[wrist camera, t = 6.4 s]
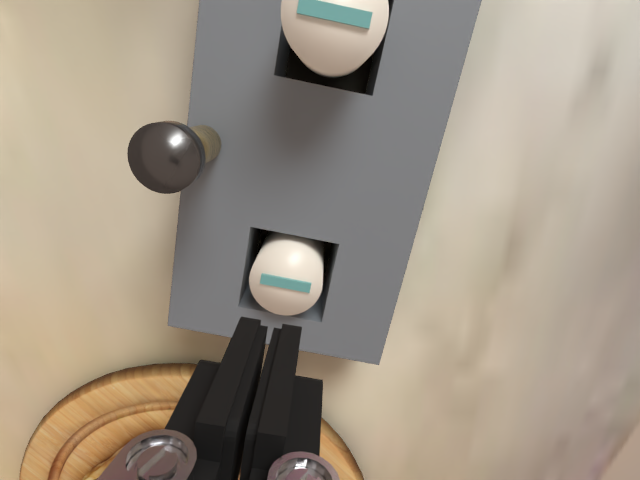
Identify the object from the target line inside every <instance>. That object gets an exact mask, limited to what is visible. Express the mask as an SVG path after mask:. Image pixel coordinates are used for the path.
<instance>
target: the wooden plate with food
mask: <svg viewBox="0 0 640 480" xmlns="http://www.w3.org/2000/svg"><path fill="white" fill-rule="evenodd" d="M196 366H197V364H190V363H169V364H152V365H146V366H138V367H132V368H127V369H123V370H120V371H116V372H113V373H109V374H106V375H104V376H102V377H100V378H97V379H95V380H93V381H91V382H89V383H87V384H85V385H83V386H81V387H80V388H78V389H76V390H75V391H73V392H71V393H70V394H69V395H67V396H66V397H65V398H63V399H62V400H61V401H59V402H58V403H57V404H56V405H55V406H54V407H53V408H52V409H51V410H50V411H49V412H48V413H47V414H46V415H45V416H44V417H43V419H42V420H41V422H40V423H39V425H38V427H37V428H36V430H35V431H34V433H33V435H32V436H31V439H30V441H29V443H28V445H27V448H26V450H25V454H24V457H23V460H22V464H21V470H20V480H95V479H97V478H98V477H99V476H100V475H101V474H102V473H103V471H104V470H105V469H106V468H107V466H108V465H109V464H110V463H111V462H112V460H113V459H114V458H115V457H116V455H117V454H118V453H119V452H120V451H121V449H122V448H123V447H124V446H125V445H126V444H127V443H128V442H129V441H131V440H132V439H133V438H135V437H137V436H139V435H140V434H142V433H145V432H149V431H152V430H161V429H165V427H166V425H167V423H168V421H169V419H170V417H171V415H172V413H173V411H174V409H175V407H176V405H177V403H178V401H179V399H180V397H181V396H182V394H183V392H184V390H185V388H186V386H187V384H188V382H189V380H190V378H191V376H192V374H193V372H194V370H195V368H196ZM320 457H322V458H324V459H325V460H326V461H327V462H329V463H330V464H331V465H332V466H333V468H334V469H335V470H336V472H337V473H338V476H339V479H340V480H364V479H363V476H362V473H361V471H360V469H359V467H358V465H357V463H356V461H355V459H354V457H353V455H352V453H351V452H350V450H349V448H348V447H347V446H346V444H345V443H344V441H343V440H342V438H341V437H340V436H339V435H338V434H337V433H336V432H335V431H334V429H333V428H332V427H331V426H330V425H329V424H328V423H327V422H326V421H325V420H324V419H323V418H322V417H321V435H320ZM240 471H241V470H240ZM239 477H240V474H239ZM238 480H239V478H238Z"/></svg>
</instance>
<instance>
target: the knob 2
mask: <svg viewBox="0 0 640 480" xmlns="http://www.w3.org/2000/svg"><path fill="white" fill-rule="evenodd" d="M388 17H389V4H388V0H282V1H281V22H282V27H283V31H284V34H285V37H286V39H287V41H288V43H289V45H290V47H291V48H292V49H293V51H294V52H295V53H296V55H297V56H298V57H299V58H300V60H301V61H302V62H303V63H304V64H305V65H306V66H307V68H309V69H310V70H311V71H313V72H314V73H316V74H318V75H320V76H324V77H329V78H338V77H343V76H346V75H348V74H351V73H352V72H354V71H355V70H357V69H358V68H359V67H360V66H361V65H362V64H363V63H364V62H365V61H366V60H367V59H368V58H369V57H370V56H371V55H372V54H373V53H374V51H375V50H376V49H377V47H378V46H379V44H380V42H381V41H382V39H383V36H384V34H385V31H386V28H387V23H388Z"/></svg>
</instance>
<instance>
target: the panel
mask: <svg viewBox="0 0 640 480" xmlns="http://www.w3.org/2000/svg"><path fill="white" fill-rule="evenodd" d="M281 1H282V0H200V1H199V11H198V22H197V32H196V42H195V52H194V62H193V72H192V83H191V93H190V103H189V113H188V123H187V126H188V127H193V126H198V125H206V126H209V127H211V128H213V129H214V130H215V131H216V132H217V133H218V135H219V137H220V139H221V150H220V152H219V154H218V156H217V157H216V158H214V159H213V160H211V161H209V162H207V163H205V167H204V170H203V172H202V174H201V175H200V177H199V178H198V179H197V180H196V181H195V182H194V183H192V184H191V185H189V186H188V187H186V188H184V189H183V190H181V195H180V205H179V215H178V225H177V235H176V246H175V256H174V266H173V276H172V286H171V297H170V307H169V317H168V326H172V327H177V328H182V329H188V330H193V331H198V332H204V333H209V334H215V335H220V336H225V337H231V338H232V336H233V334H234V331H235V329H236V327H237V324H238V322H239V320H240V317H247V318H253V319H259V320H261V325H262V326H268V329H267V336H266V343H265V344H268V345H269V344H270V340H271V336H272V332H273V329H274V328H280V329H281V328H282V324H288V325H294V326H300V327H302V331H301V338H300V345H299V350H301V351H306V352H312V353H317V354H322V355H328V356H333V357H339V358H344V359H349V360H355V361H360V362H365V363H371V364H376V365H379V363H380V359H381V356H382V352H383V348H384V345H385V341H386V338H387V334H388V331H389V327H390V324H391V320H392V316H393V313H394V309H395V306H396V302H397V299H398V295H399V292H400V288H401V285H402V281H403V277H404V274H405V270H406V267H407V263H408V260H409V256H410V253H411V249H412V246H413V242H414V238H415V235H416V231H417V228H418V224H419V221H420V217H421V214H422V210H423V207H424V203H425V199H426V196H427V192H428V189H429V185H430V182H431V178H432V175H433V171H434V167H435V164H436V160H437V157H438V153H439V150H440V146H441V143H442V139H443V136H444V132H445V128H446V125H447V121H448V118H449V114H450V111H451V107H452V104H453V100H454V97H455V93H456V89H457V86H458V82H459V79H460V75H461V72H462V68H463V65H464V61H465V58H466V54H467V50H468V47H469V43H470V40H471V36H472V33H473V29H474V26H475V22H476V18H477V15H478V11H479V8H480V4H481V1H482V0H388V4H389V17H388V23H387V28H386V31H385V34H384V36H383V39H382V41H381V42H380V44H379V46H378V47H377V49H376V50H375V51H374V55H373V60H372V64H371V69H370V73H369V78H368V82H367V87H366V91H365V94H361V93H356V92H351V91H347V90H342V89H337V88H332V87H328V86H323V85H318V84H313V83H309V82H304V81H299V80H294V79H290V78H285V77H286V71H287V65H288V59H289V53H290V45H289V43H288V41H287V39H286V37H285V34H284V31H283V27H282V22H281ZM261 229H265V230H270V231H275V232H280V233H285V234H290V235H295V236H300V237H305V238H311V239H316V240H321V241H326V242H331V243H332V247H331V251H330V256H329V260H328V265H327V269H326V274H325V278H324V283H323V286H322V291H321V294H320V296H319V298H318V300H317V301H316V303H315V304H314V305H313V306H312V307H311V308H309V309H308V310H306V311H304V312H302V313H300V314H296V315H278V314H275V313H272V312H270V311H268V310H266V309H265V308H263V307H262V306H261V305H260V304H259V303H258V302H257V301H256V300H255V298H254V297H253V295H252V293H251V290H250V285H249V275H250V271H251V269H252V266H253V264H254V262H255V260H256V256H257V250H258V244H259V237H260V231H261Z"/></svg>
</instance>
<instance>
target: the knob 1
mask: <svg viewBox="0 0 640 480" xmlns="http://www.w3.org/2000/svg"><path fill="white" fill-rule="evenodd" d="M323 266H324V241H321V240H316V239H311V238H305V237H300V236H295V235H290V234H285V233H280V232H275V231H270V230H269V232H268V234H267V236H266V238H265V240H264V242H263V245H262V247H261V249H260V251H259V253H258V255H257V258H256V260H255V262H254V264H253V266H252V269H251V271H250V275H249V285H250V290H251V293H252V295H253V297H254V298H255V300H256V301H257V302H258V303H259V304H260V305H261V306H262V307H263V308H265V309H266V310H268V311H270V312H272V313H275V314H278V315H296V314H300V313H302V312H304V311H306V310H308V309H309V308H311V307H312V306H313V305H314V304H315V303H316V301H317V300H318V298H319V296H320V294H321V291H322V286H323Z"/></svg>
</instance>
